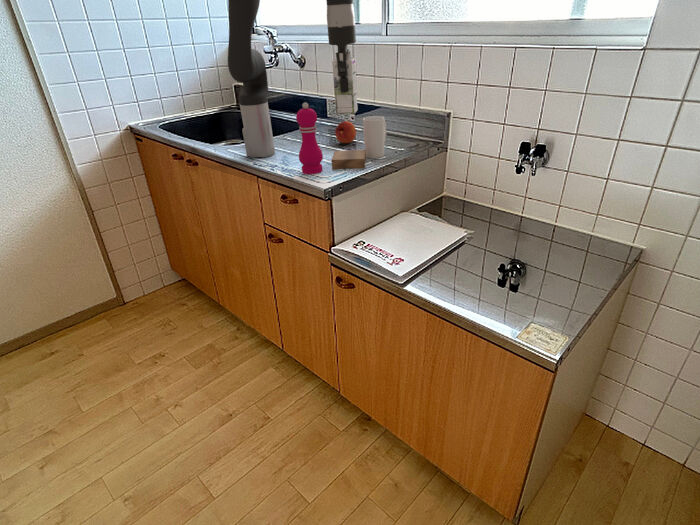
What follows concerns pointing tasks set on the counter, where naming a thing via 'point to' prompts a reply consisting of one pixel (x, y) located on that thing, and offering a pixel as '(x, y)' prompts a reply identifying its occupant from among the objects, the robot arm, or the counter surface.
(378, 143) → the mug
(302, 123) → the pepper mill
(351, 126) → the fruit
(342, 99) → the syrup box
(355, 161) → the walnut base
